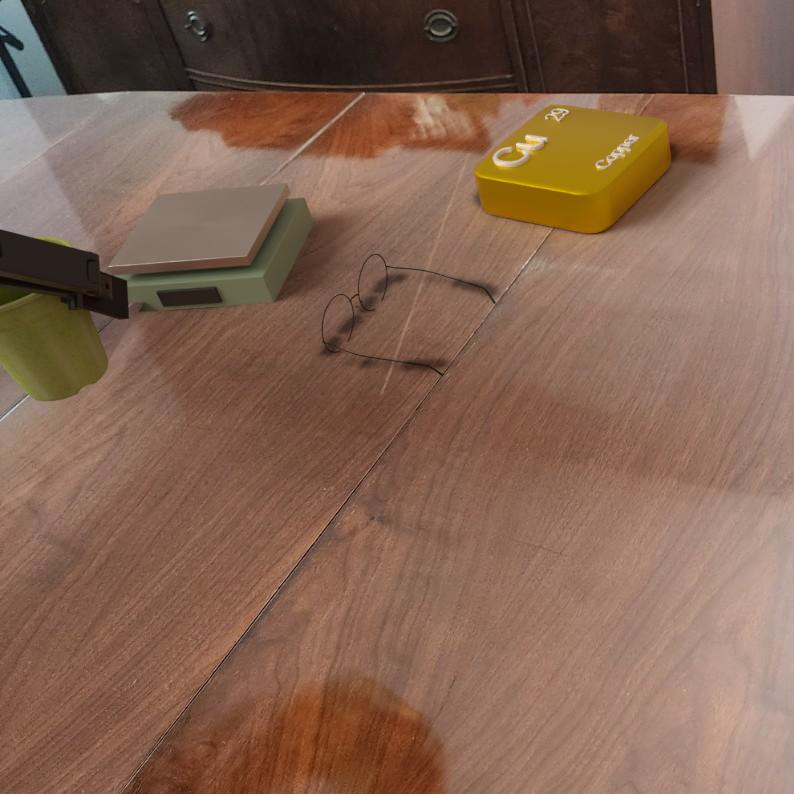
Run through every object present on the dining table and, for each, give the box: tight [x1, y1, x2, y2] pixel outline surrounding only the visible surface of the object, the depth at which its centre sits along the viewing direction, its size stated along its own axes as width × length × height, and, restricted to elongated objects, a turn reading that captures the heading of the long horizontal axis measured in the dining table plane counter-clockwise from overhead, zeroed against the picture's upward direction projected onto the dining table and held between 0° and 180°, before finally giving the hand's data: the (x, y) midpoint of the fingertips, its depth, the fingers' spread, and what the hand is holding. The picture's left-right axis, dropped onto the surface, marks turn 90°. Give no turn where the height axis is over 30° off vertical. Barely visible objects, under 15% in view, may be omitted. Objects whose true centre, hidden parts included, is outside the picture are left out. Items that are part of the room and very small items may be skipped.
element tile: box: [473, 104, 672, 234], centre depth 110 cm, size 15×15×5 cm
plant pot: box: [0, 235, 109, 402], centre depth 78 cm, size 9×9×9 cm
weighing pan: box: [107, 182, 291, 276], centre depth 108 cm, size 14×13×1 cm
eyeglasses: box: [321, 253, 497, 377], centre depth 97 cm, size 11×13×5 cm
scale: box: [114, 197, 315, 313], centre depth 109 cm, size 16×14×4 cm
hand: (59, 304), depth 81 cm, fingers closed on plant pot, 9 cm apart
